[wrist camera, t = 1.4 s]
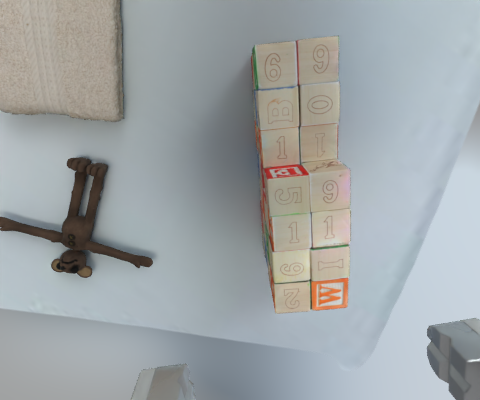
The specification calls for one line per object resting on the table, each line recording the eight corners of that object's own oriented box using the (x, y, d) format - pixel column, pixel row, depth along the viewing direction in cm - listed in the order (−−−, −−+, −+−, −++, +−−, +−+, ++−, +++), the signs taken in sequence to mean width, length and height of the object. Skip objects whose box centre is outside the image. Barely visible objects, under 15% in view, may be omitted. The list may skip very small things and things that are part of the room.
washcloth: (123, -90, 26) (110, -113, 24) (129, 123, 32) (119, 126, 30) (-19, -108, 26) (-51, -133, 23) (13, 112, 32) (-9, 114, 29)
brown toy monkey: (171, 190, 32) (137, 309, 35) (177, 182, 36) (146, 289, 39) (-11, 135, 30) (-30, 266, 33) (18, 133, 34) (-1, 250, 37)
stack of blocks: (248, 55, 30) (256, 35, 19) (311, 49, 30) (359, 24, 19) (262, 247, 38) (275, 317, 26) (313, 242, 38) (349, 310, 26)
